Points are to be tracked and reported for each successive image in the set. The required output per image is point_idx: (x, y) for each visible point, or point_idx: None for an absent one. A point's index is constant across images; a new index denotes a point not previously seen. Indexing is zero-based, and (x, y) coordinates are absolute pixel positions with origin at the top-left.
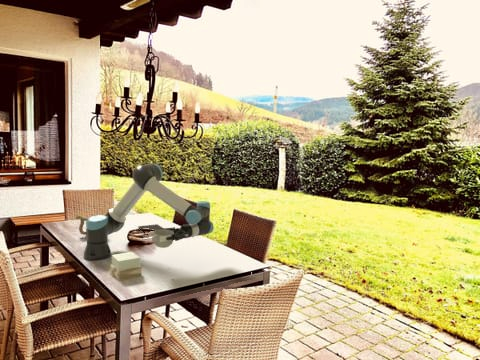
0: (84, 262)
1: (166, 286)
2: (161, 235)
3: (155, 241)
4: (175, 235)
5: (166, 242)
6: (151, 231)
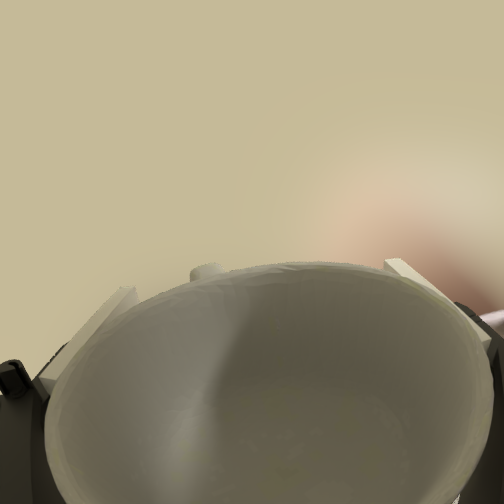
0: (491, 315)
1: None
2: (153, 302)
3: (255, 355)
4: (3, 436)
5: (139, 420)
6: (404, 271)
